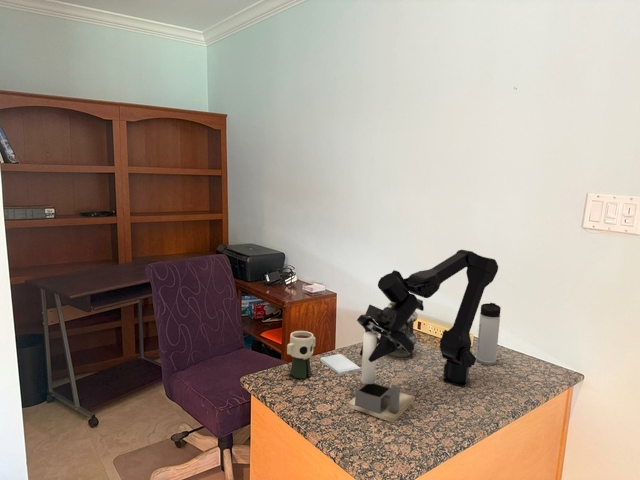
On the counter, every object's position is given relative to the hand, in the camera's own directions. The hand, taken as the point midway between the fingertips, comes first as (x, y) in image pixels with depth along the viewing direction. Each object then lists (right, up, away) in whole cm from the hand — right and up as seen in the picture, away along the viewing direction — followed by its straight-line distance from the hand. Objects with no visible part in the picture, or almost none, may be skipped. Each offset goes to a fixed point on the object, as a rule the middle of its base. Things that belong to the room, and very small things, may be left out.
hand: (365, 358), depth 117 cm
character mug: (-18, -11, +19) cm, 28 cm away
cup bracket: (+4, -13, -1) cm, 13 cm away
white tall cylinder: (+1, -6, +2) cm, 7 cm away
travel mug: (+45, -11, +35) cm, 58 cm away
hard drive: (-5, -10, +28) cm, 30 cm away
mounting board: (+5, -13, +4) cm, 15 cm away
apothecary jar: (+15, -9, +39) cm, 43 cm away
